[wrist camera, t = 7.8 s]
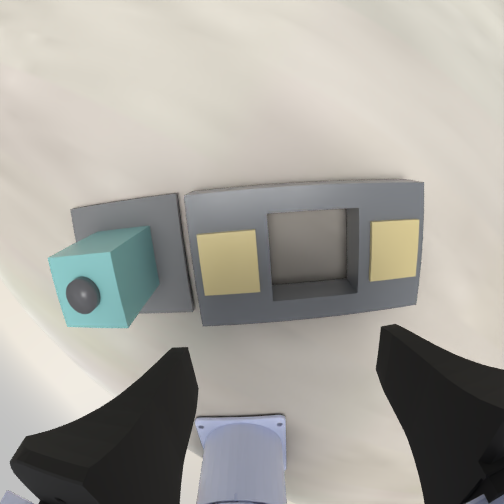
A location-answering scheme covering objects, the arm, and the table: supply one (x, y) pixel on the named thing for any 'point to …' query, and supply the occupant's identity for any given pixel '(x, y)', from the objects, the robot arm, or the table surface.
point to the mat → (163, 238)
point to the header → (307, 293)
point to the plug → (105, 277)
